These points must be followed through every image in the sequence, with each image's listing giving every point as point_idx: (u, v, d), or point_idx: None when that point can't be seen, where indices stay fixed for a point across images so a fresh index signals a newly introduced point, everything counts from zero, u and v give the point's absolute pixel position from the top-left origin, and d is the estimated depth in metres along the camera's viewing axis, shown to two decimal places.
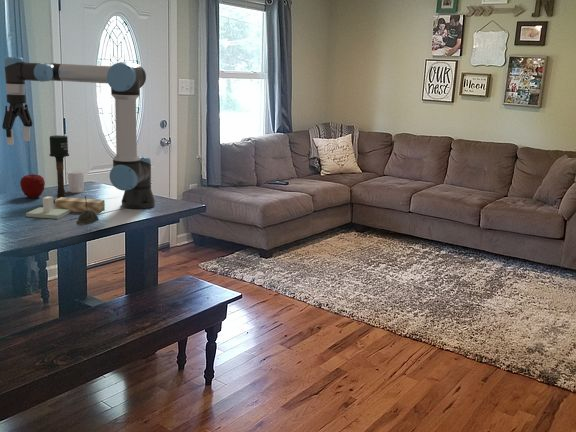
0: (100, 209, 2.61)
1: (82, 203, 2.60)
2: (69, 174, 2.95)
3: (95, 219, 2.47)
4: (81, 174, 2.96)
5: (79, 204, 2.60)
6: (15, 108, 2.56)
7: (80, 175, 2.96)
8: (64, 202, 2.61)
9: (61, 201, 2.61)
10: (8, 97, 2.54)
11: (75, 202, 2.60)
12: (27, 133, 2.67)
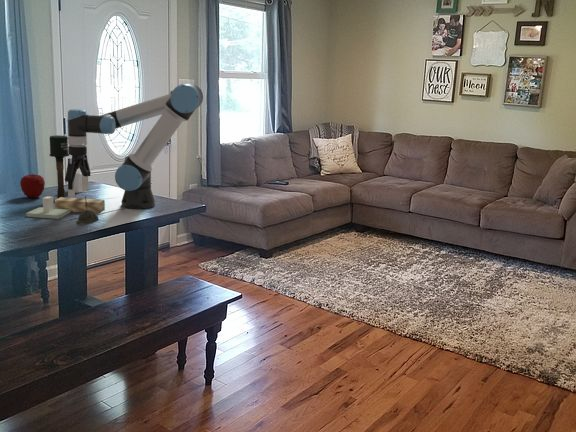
0: (101, 209, 2.62)
1: (82, 203, 2.60)
2: None
3: (95, 219, 2.47)
4: (81, 174, 2.96)
5: (79, 204, 2.60)
6: (77, 160, 2.55)
7: (80, 175, 2.96)
8: (64, 202, 2.60)
9: (61, 201, 2.60)
10: (70, 149, 2.54)
11: (75, 202, 2.60)
12: (85, 183, 2.67)
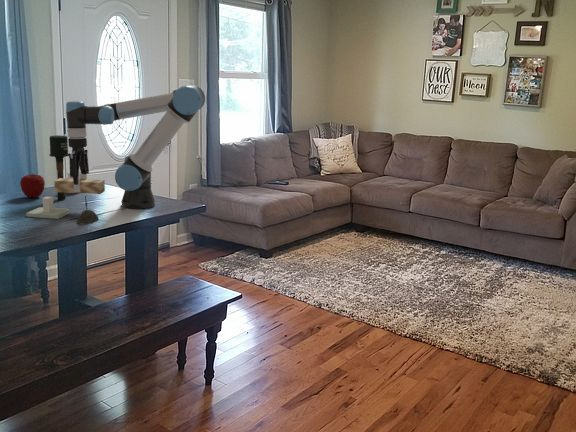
0: (101, 189, 2.60)
1: (82, 183, 2.58)
2: (69, 174, 2.95)
3: (95, 219, 2.47)
4: None
5: None
6: (77, 152, 2.55)
7: None
8: (64, 183, 2.58)
9: (61, 182, 2.58)
10: (70, 141, 2.53)
11: None
12: None
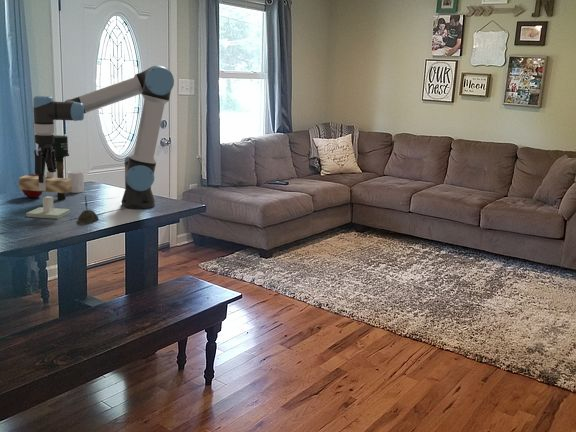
0: (67, 188, 2.49)
1: (48, 181, 2.47)
2: (69, 174, 2.95)
3: (95, 219, 2.47)
4: (81, 174, 2.96)
5: None
6: (44, 149, 2.44)
7: (80, 175, 2.96)
8: (29, 180, 2.48)
9: (25, 179, 2.47)
10: (36, 138, 2.43)
11: None
12: None
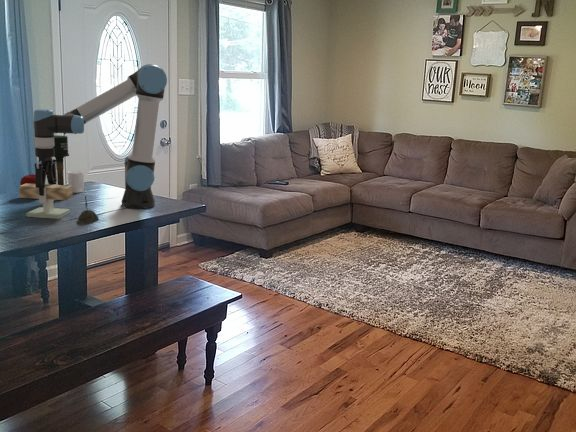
0: (68, 195, 2.50)
1: (48, 189, 2.48)
2: (69, 174, 2.95)
3: (95, 219, 2.47)
4: (81, 174, 2.96)
5: None
6: (44, 162, 2.46)
7: (80, 175, 2.96)
8: (29, 188, 2.48)
9: (26, 187, 2.48)
10: (37, 151, 2.44)
11: None
12: None
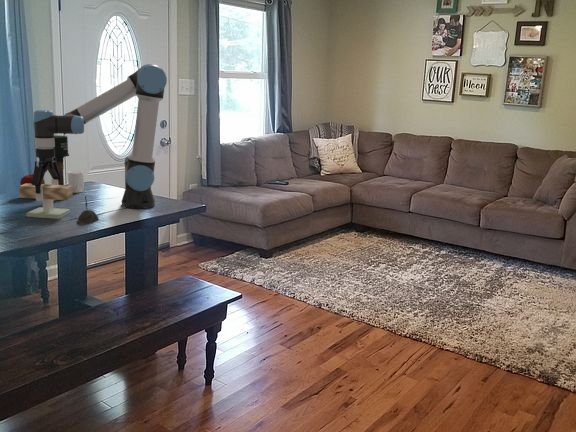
0: (68, 195, 2.50)
1: (48, 189, 2.48)
2: (69, 174, 2.95)
3: (95, 219, 2.47)
4: (81, 174, 2.96)
5: (45, 190, 2.48)
6: (44, 163, 2.46)
7: (80, 175, 2.96)
8: (29, 188, 2.48)
9: (26, 187, 2.48)
10: (37, 152, 2.44)
11: None
12: None
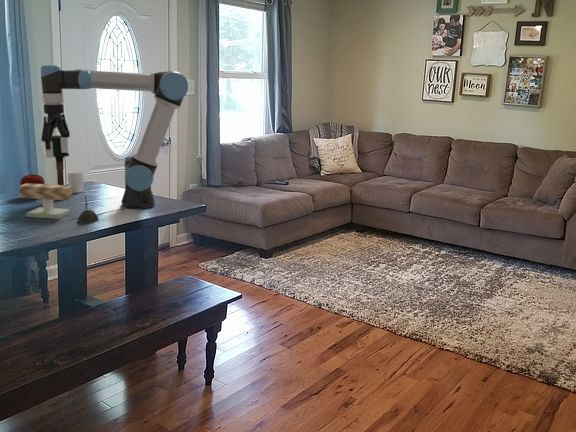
0: (68, 195, 2.50)
1: (48, 189, 2.48)
2: (69, 174, 2.95)
3: (95, 219, 2.47)
4: (81, 174, 2.96)
5: (45, 190, 2.48)
6: (53, 119, 2.43)
7: (80, 175, 2.96)
8: (29, 188, 2.48)
9: (26, 187, 2.48)
10: (46, 107, 2.42)
11: (41, 188, 2.48)
12: (65, 144, 2.55)
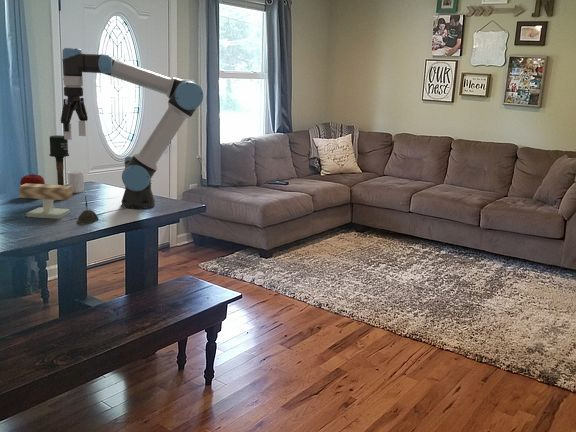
0: (68, 195, 2.50)
1: (48, 189, 2.48)
2: (69, 174, 2.95)
3: (95, 219, 2.47)
4: (81, 174, 2.96)
5: (45, 190, 2.48)
6: (73, 101, 2.45)
7: (80, 175, 2.96)
8: (29, 188, 2.48)
9: (26, 187, 2.48)
10: (66, 90, 2.44)
11: (41, 188, 2.48)
12: (82, 128, 2.57)
